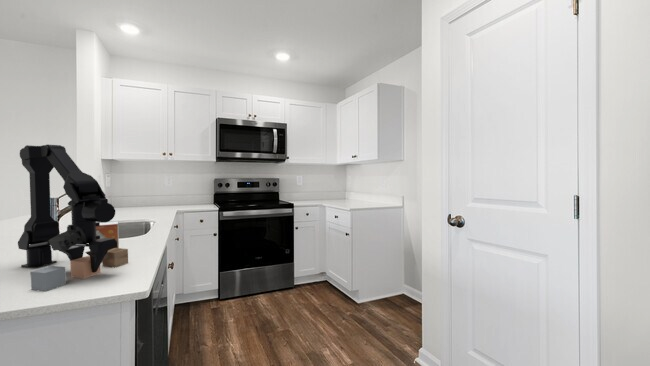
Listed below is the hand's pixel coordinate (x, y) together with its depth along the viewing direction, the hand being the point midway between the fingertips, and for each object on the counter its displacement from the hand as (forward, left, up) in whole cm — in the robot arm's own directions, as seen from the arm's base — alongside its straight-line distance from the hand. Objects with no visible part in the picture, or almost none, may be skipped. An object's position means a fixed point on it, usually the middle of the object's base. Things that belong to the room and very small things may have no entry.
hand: (85, 271), depth 92 cm
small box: (-9, +14, -1) cm, 17 cm away
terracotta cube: (0, 0, -1) cm, 1 cm away
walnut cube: (0, +10, -1) cm, 10 cm away
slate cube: (0, -10, -1) cm, 10 cm away
